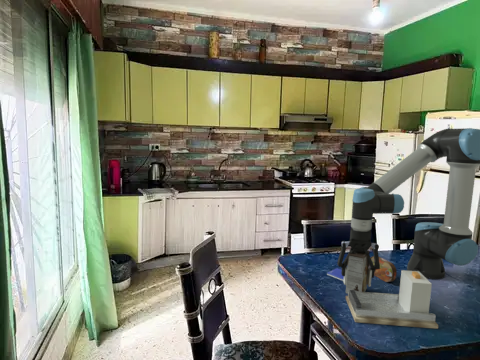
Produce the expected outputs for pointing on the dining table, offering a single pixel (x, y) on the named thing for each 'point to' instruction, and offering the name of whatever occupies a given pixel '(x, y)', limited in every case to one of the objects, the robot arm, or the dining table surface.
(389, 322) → the board
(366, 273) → the coffee box
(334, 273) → the hard drive
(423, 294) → the breaker module
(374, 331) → the dining table surface
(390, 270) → the tin
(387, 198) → the robot arm
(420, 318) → the white base stand
